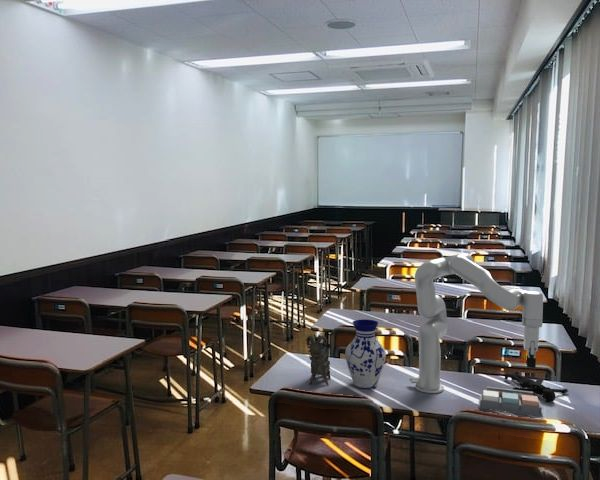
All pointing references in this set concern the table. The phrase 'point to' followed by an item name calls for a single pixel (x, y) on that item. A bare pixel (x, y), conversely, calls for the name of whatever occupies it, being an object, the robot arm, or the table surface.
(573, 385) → the table surface
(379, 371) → the vase
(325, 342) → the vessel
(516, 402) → the teal key
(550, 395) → the toy
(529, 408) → the keypad
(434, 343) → the robot arm
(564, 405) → the table surface
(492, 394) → the cream key
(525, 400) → the terracotta key
